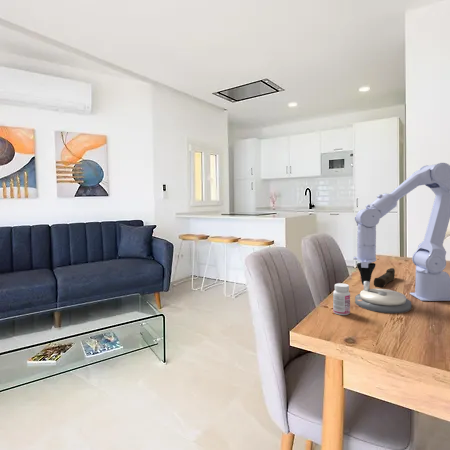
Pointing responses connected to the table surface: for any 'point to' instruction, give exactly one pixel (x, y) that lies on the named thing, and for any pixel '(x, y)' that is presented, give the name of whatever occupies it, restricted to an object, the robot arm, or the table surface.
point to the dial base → (383, 306)
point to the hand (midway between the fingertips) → (365, 284)
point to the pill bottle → (341, 299)
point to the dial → (381, 296)
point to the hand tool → (384, 278)
